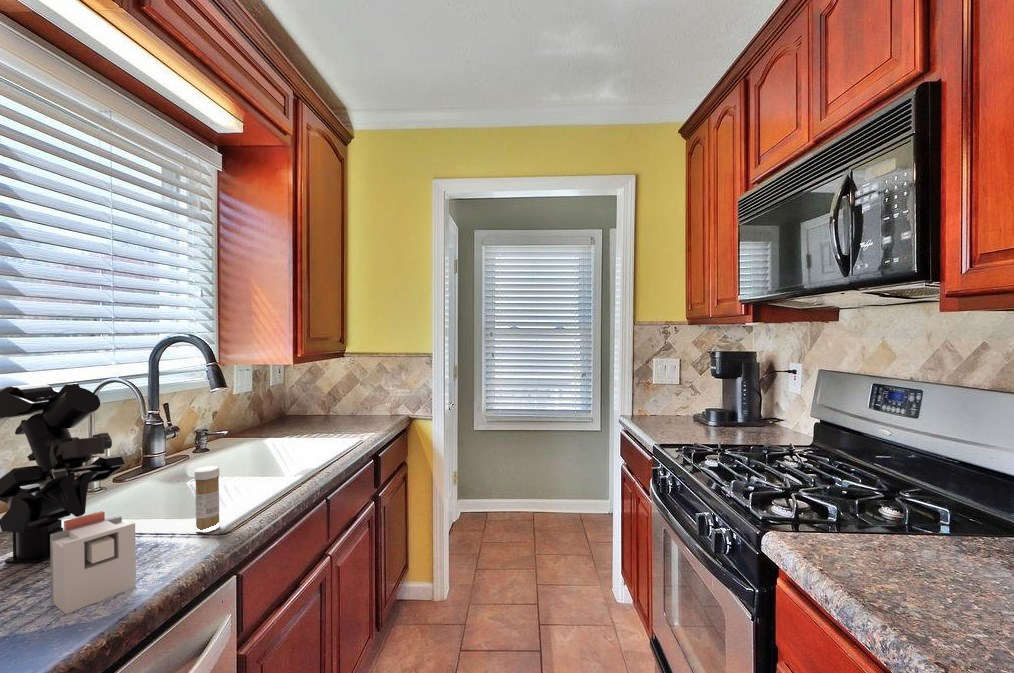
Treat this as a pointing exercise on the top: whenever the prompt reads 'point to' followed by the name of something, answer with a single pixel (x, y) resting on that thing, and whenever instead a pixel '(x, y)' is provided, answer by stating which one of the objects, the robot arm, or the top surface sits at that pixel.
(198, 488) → the sprinkles bottle
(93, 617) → the top surface
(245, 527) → the top surface
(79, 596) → the box
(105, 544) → the button
